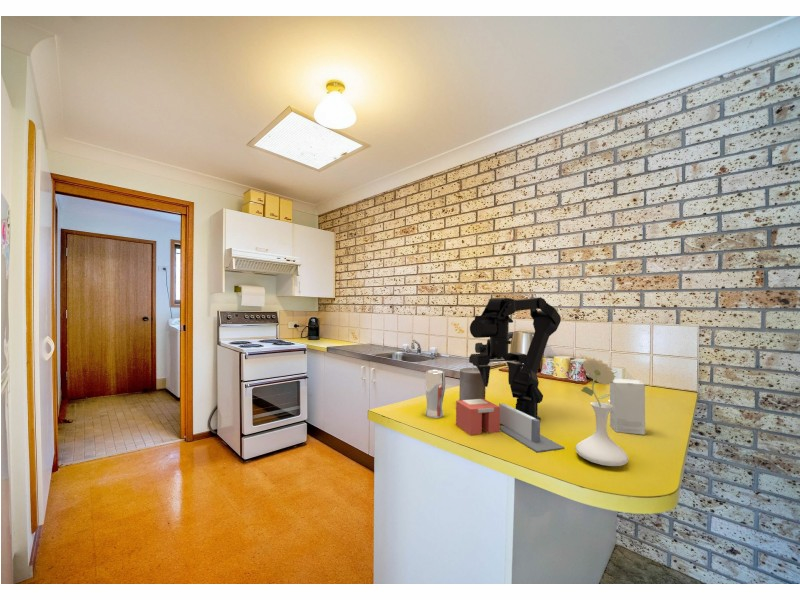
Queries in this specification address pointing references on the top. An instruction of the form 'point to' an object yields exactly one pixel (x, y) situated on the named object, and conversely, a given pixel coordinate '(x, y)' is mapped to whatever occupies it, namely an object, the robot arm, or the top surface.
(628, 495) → the top surface
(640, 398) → the skincare box
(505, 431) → the mat
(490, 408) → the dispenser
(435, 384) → the beer glass
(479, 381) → the pillar candle
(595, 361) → the flower in vase
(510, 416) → the grey rectangular bar
